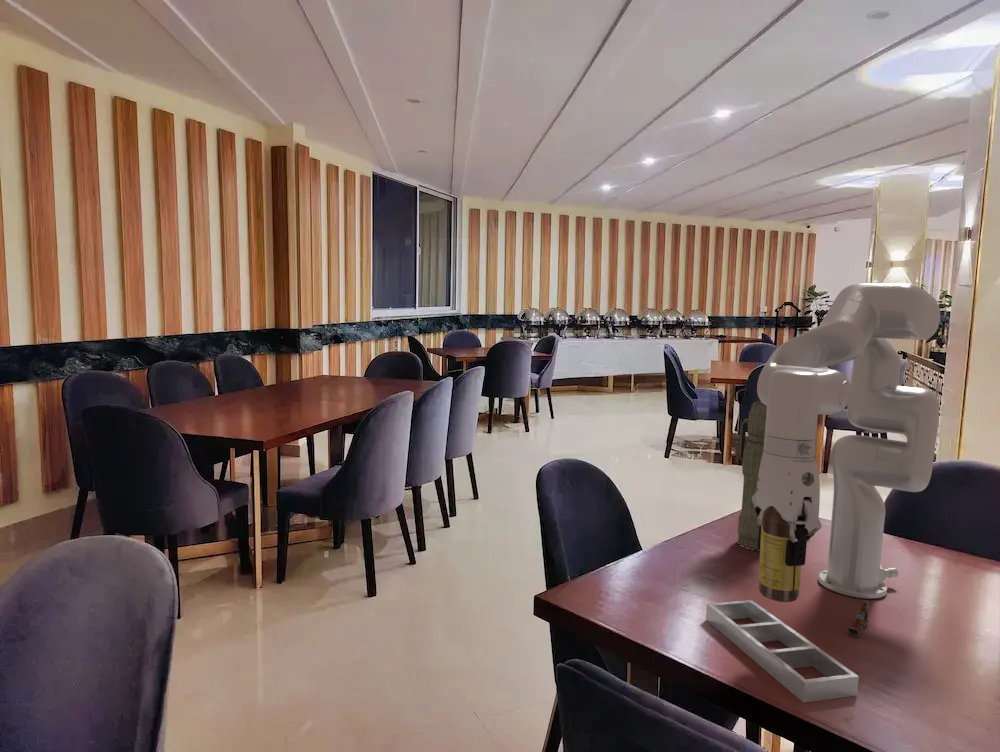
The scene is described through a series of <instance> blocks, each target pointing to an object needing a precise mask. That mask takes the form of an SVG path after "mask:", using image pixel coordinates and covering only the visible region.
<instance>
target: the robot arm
mask: <svg viewBox="0 0 1000 752" xmlns="http://www.w3.org/2000/svg"><path fill="white" fill-rule="evenodd" d="M826 312H827V313H826V314H825V315H824V317H823V319H822V321H821V322H820V323H819V325H818V326H817V327H814V328H812V329H810V330H807V331H805V332H803V333H801V334H799V335H797V336H795V337H792V338H790V339H789V340H786V341H785V342H783V343H782V344H781V345H778V347H776V348H775V350H774V351H773V352H772V353H771V355H770V356H769V358H768V360H767V361H766V363H765V364H764V366H763V368H762V370H761V371H760V373H759V376H758V380H757V383H756V384H757V385H756V386H757V387H756V392H757V393H756V394H757V397H758V399H759V401H761V402H762V403H763V404H765V405H766V406H767V413H766V426H765V439H764V452H763V455H762V459H761V463H760V468H759V474H758V481H757V490H756V493H755V494H754V495H753V496H752V501H753V504H754V506H755V511H756V514H757V516H758V519H757V523H758V525H761V522H762V516H763V513H764V511H765V510H766V508H767V507H770V506H773V507H775V509H776V510H777V511H778V513H779V514H780V516H781V518H782V519H783V520H784V521H786V522H788V529H789V535H790V540H787V546H786V559H785V564H786V565H788V566H801V567H802V566H804V565H806V559H807V558H806V554H807V544H808V542H810V541H811V538H813V537H814V536H815V535H816V533H817V532H818V531H819V530H821V529H822V527H823V526H822V523H821V521H820V517H819V516H820V505H821V504H820V501H821V499H820V498H821V497H820V496H821V493H820V492H821V491H820V490H821V487H820V486H821V485H820V484H821V483H820V472H819V470H820V469H819V465H818V461H817V460H815V456H816V449H817V448H816V447H817V433H818V420H819V415H824V416H827V415H828V416H832V415H836V414H838V413H840V412H843V411H844V409H846V410H847V411H846V415H847V420H848V422H849V423H850V424H851V425H852V426H854V427H856V428H860V429H863V430H868V431H869V430H870V431H877V432H884V433H891V434H898V435H903V436H905V437H906V441H902V440H896V439H887V438H883V437H877V436H876V437H875V436H869V435H861V434H860V435H859V434H848V435H845V436H842V437H839V438H838V439H837V440H836V441H835V442H834V444H833V446H832V449H831V465H832V466H831V467H832V475H833V477H832V478H833V494H832V495H833V498H832V509H831V510H832V511H831V522H830V535H829V548H828V556H827V557H828V559H827V560H828V561H827V568H826V569H824V570H822V571H820V572H819V573H818V577H817V579H818V582H819V583H820V584H821V585H822V586H823V587H825V588H826V589H828V590H830V591H832V592H835V593H837V594H840V595H844V596H847V597H851V598H852V597H853V598H859V599H871V600H873V599H874V600H875V599H880V598H884V597H885V596H886V595H887V594H888V587H887V585H886V584H885V583H884V580H886V579H889V578H890V579H891V578H898V576H899V570H898V569H897V568H896V567H888V568H884V567H883V566H882V565H881V562H882V549H883V542H884V541H883V540H884V529H885V528H884V527H885V518H886V506H885V501H884V499H883V498H882V496H881V494H880V493H879V491H878V490H877V487H881V488H888V489H893V490H898V491H904V492H910V493H911V492H912V493H918V492H922V491H924V490H925V489H926V488H927V487H928V486H929V484H930V480H931V477H932V474H933V473H932V472H933V465H934V459H935V451H936V444H937V437H938V429H939V421H940V420H939V419H940V405H939V400H938V397H937V396H936V394H935V393H934V392H933V391H931V390H929V389H927V388H923V387H915V386H904V385H900V375H901V368H902V361H901V357H900V356H899V354H898V353H897V351H896V349H895V348H894V347H893V345H892V344H891V343H890V342H889V341H888V340H887V339H894V340H913V341H921V340H922V341H924V340H927V339H930V338H931V337H933V336H934V335H935V333H936V332H937V331H938V328H939V325H940V323H941V322H940V321H941V309H940V306H939V303H938V301H937V300H936V298H935V297H934V296H933V295H932V294H930V293H929V292H927V291H926V290H925V289H923V288H922V287H921V286H918V285H916V284H912V283H906V282H877V283H876V282H861V283H854V284H851V285H848V286H846V287H844V288H842V290H841V291H840V292H839V293H838V294H837V295H836V296H835V298H834V300H833V302H832V304H831V306H830V307H829V309H828V311H826ZM852 360H853V361H852ZM850 361H852V362H853V363H852V372H851V379H850V380H849V378H848V377H847V376H846V375H845V374H844V373H843V372H841V371H839V370H836V369H829V368H824V367H831V366H834V365H835V366H836V365H839V364H844V363H846V362H850ZM798 517H799V518H800V521H797V518H798ZM796 525H800V528H801V529H800V530H799V531H798V532H797V530H796ZM760 541H761V526H759V536H758V549H760Z"/></svg>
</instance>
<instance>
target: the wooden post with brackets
mask: <svg viewBox="0 0 1000 752" xmlns="http://www.w3.org/2000/svg"><path fill="white" fill-rule="evenodd" d="M869 608H870V601H868V600H865V601H863V602H862V603H861V606H860V610H858V612H857V613H856V616H855V618H854V619H855V620H854V621H853V623H852V624H851V626H847V628H846V630H847V635H850V636H853V637H855V638H860V630H863V629H865V627H866V626H867V624H868V622H869V621H870V620H869V618H870V616H869V611H868V609H869ZM859 629H860V630H859Z"/></svg>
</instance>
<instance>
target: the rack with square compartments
mask: <svg viewBox="0 0 1000 752" xmlns="http://www.w3.org/2000/svg"><path fill="white" fill-rule="evenodd" d="M739 619H740V620H741V619H750V620H751V621H753V622H754V623H747V624H738V623H736V622H735V621H734V620H739ZM705 620H706V621H707V622H708V623H709V624H710V625H712V626H713V627H714V628H715V629H716V630H717V631H719V632H720V633H721V635H723V636H725V637H726V638H727V639H728V640H729V641H730V642H731V643H733V644H734V645H735V646H736V647H737V648H738V649H740V650H741V651H742V652H743V653H744V654H746V656H748V657H749V658H750V659H752V661H754V662H755V663H756V664H757V665H758V666H760V668H762V669H763V670H764V671H765V672H767V674H769V675H770V676H771V677H773V678H774V679H775V680H776V681H777V682H778V683H780V684H781V685H782V686H783V687H784V688H785V689H787V690H788V691H789V692H790V693H791V694H792V695H794V696H795V697H796V698H797V699H798V700H799V701H800V702H802V703H803V704H805V703H813V702H820V701H829V700H835V699H836V698H837V699H844V698H850V697H858V690H859V689H858V688H859V681H860V676H859V675H858V674H856V673H855V672H854V671H852V670H850V669H849V668H848V667H846V666H845V665H844V664H842V663H841V662H839V661H838V660H837V659H835V658H834V657H832V656H831V655H829V654H828V653H826V652H825V651H824V650H822V649H821V648H820V647H818V646H817V645H816V644H814V643H813V642H811V641H810V640H808V639H807V638H806V637H805V636H803V635H801V633H799V632H797V631H796V630H794V629H793V628H792V627H791V626H789V625H788V624H786V623H785V622H783V621H782V620H781V619H779V618H777V617H776V616H775V615H773V614H772V613H771V612H769V611H768V610H766V609H765V608H764V607H762V606H761V605H760V604H758V603H757V602H755V601H754V600H752V599H749V600H748V599H747V600H736V601H726V602H725V601H723V602H715V603H714V602H713V603H711V602H710V603H707V604H706V614H705ZM775 641H776V642H777V641H779V642H780V643H782V644H783V645H784V646H785V648H777V649H769V648H767V647H766V646H765V645H763V644H762V643H766V642H775ZM786 647H787V648H786ZM809 667H814V668H815V669H816V670H817V671H819V672H820V673H821V674H822V675H823V677H817V678H816V677H815V678H807V679H806V678H805V677H804V676H802V675H801V674H800V673H799V672H797V671H796V670H795V669H800V668H809Z"/></svg>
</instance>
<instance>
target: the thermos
mask: <svg viewBox="0 0 1000 752" xmlns="http://www.w3.org/2000/svg"><path fill="white" fill-rule="evenodd" d="M766 413H767V406H766V405H765V404H763V403H762V402H761V400H757V401H756V402H752V404H751V407H750V410H749V412H748V418H745V419H743V420H742V421H741V423H740V424H739V436H738V437H739V439H738V449H737V450H738V453H737V454H738V461H740V462H741V464H742V469H741V470H742V472H741V473H742V475H743V485H742V486H743V487H742V500H741V512H740V514H739V516H738V524H737V535H738V536H737V537H738V538H737V544H738V543H739V544H740V545H742V546H744V547H746V548H749V549H753V550H759V551H760V549H758V536H759V526H761V525H758V523H757V519H758V516H757V514H756V511H755V506H754V504H753V501H752V496H753V495H754V494H755V493H756V490H757V481H758V474H759V468H760V463H761V459H762V455H763V452H764V439H765V426H766ZM746 426H747V439H745V438H746V437H745V436H746ZM745 440H746V444H745Z"/></svg>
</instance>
